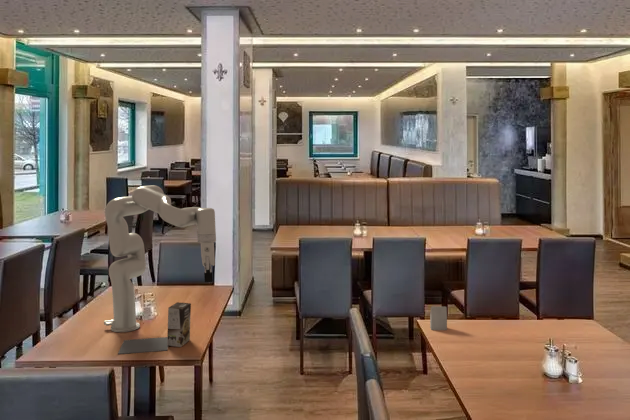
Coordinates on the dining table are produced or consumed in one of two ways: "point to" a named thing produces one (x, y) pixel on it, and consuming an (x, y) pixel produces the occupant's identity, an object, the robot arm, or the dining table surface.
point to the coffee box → (178, 324)
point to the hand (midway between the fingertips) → (208, 281)
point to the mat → (144, 345)
